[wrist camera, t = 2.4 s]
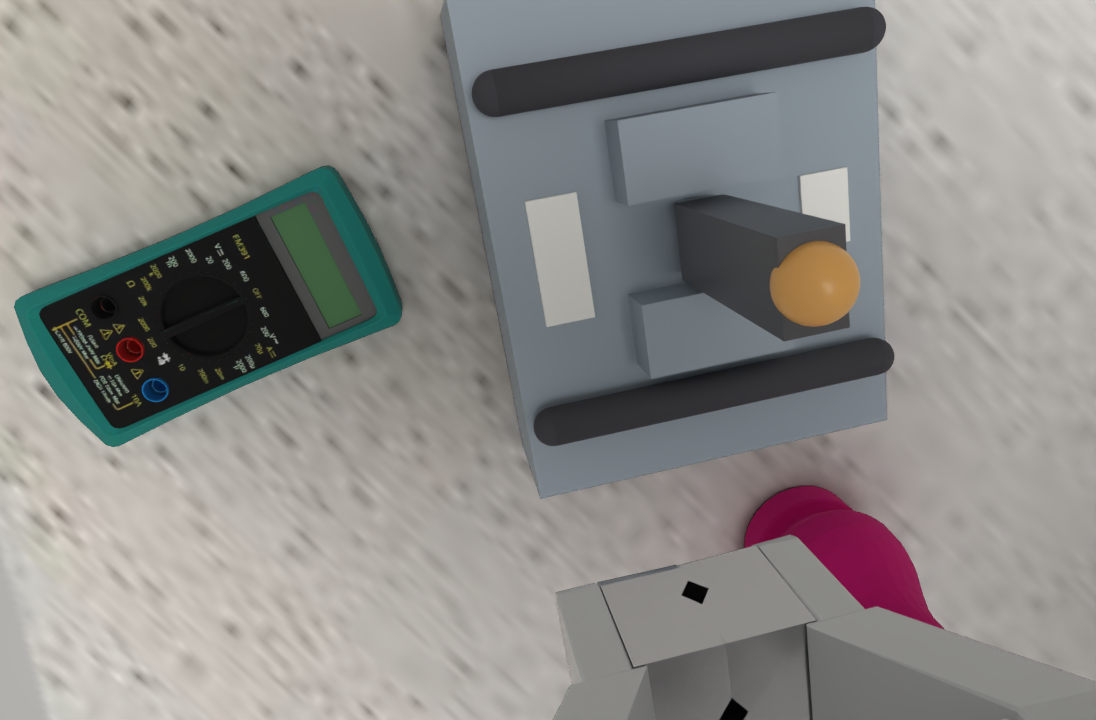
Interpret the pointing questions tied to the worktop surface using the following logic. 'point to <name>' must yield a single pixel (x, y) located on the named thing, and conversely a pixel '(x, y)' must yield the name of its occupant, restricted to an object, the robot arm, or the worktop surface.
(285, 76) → the worktop surface
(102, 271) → the digital multimeter
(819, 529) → the pepper mill
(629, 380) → the box
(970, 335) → the worktop surface
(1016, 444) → the worktop surface
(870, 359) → the dark parallel rails
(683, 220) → the breaker lever
